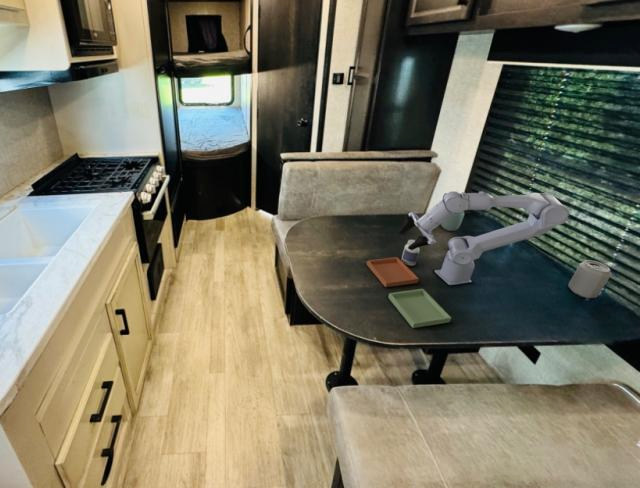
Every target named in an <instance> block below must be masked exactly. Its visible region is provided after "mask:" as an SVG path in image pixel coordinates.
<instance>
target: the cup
mask: <svg viewBox="0 0 640 488" xmlns="http://www.w3.org/2000/svg"><path fill="white" fill-rule="evenodd" d="M465 213H466V212H465V210H464V211H462V212H460V213H453V214H452V215H451V216H450V217H448V218H447V219H446V220H445V221H443V222H442V223H441V224H440V225H441V228H443V229H444V230H445V231H449V232H456V231H458V230H459V228H460V227H461V225H462V223H463V220H464V217H465Z"/></svg>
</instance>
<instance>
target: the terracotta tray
mask: <svg viewBox="0 0 640 488" xmlns="http://www.w3.org/2000/svg"><path fill="white" fill-rule="evenodd" d="M366 266H367V267H368V268H369V270H370V271H371V272H372V273H373V274H374V276H375V277H376V278H377V279H378V280H379V281H380V283H381V284H382V285H383V286H384V288H389V287H399V286H405V285H412V284H418V283H419V277H418V276H417V275H416V274H415V273H414V272H413V271H412V270H411V269H410V268H409V267H408V265H406V264H404V263H403V262H402V260H401V259H400V258H399V257H398V256H394V257H386V258H377V259H369V260H367V261H366Z"/></svg>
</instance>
